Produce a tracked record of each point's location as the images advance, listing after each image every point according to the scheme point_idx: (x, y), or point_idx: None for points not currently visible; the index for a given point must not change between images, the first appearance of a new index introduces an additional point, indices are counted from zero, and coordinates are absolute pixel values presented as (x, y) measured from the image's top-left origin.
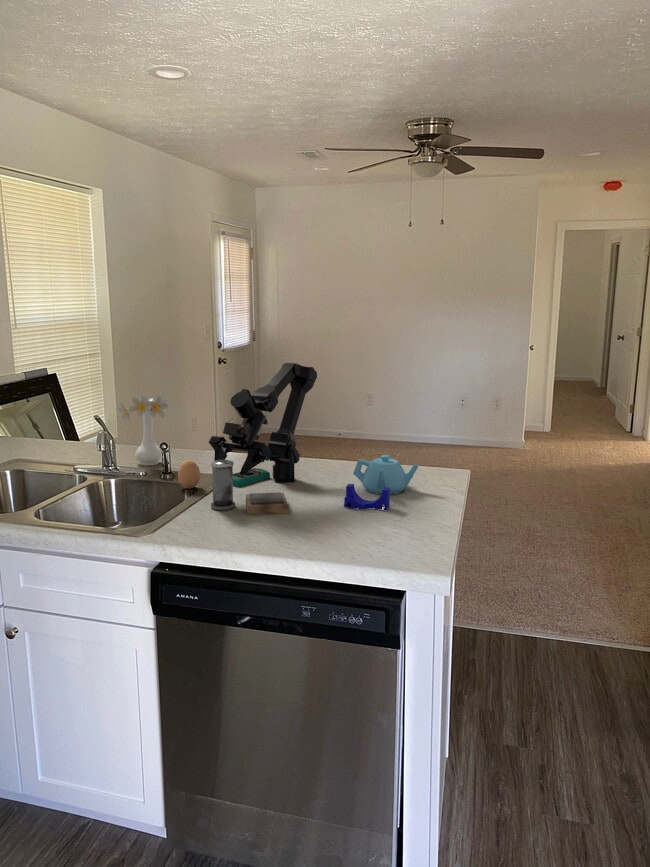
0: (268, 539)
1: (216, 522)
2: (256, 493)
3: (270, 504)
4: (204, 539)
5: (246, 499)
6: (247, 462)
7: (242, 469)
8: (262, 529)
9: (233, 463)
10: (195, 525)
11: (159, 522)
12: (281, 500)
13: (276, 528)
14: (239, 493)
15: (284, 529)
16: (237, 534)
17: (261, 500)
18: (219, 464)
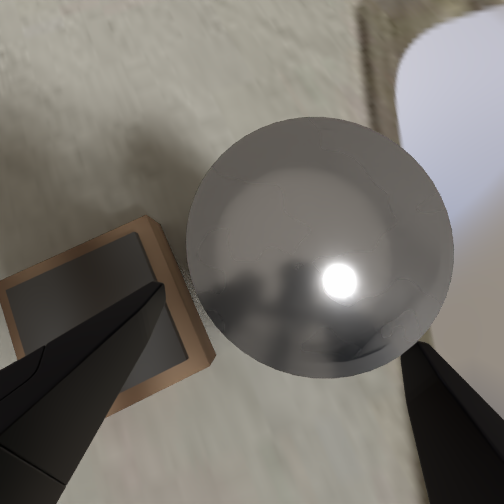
0: (40, 61)
1: (229, 131)
2: (154, 370)
3: (64, 261)
4: (204, 14)
5: (182, 298)
6: (34, 354)
7: (128, 300)
8: (76, 121)
9: (191, 271)
10: (277, 91)
11: (390, 81)
12: (18, 304)
13: (37, 140)
14: (290, 473)
15: (12, 140)
16: (133, 67)
17: (102, 277)
18: (308, 150)
